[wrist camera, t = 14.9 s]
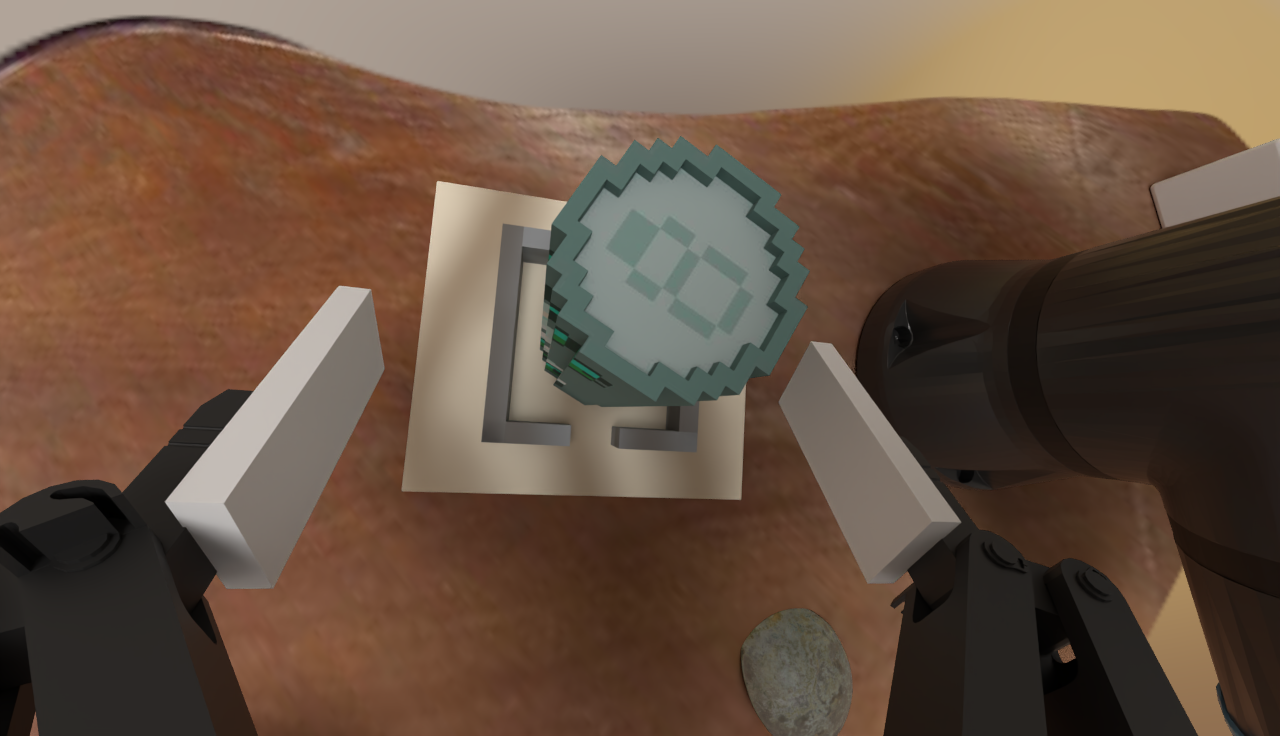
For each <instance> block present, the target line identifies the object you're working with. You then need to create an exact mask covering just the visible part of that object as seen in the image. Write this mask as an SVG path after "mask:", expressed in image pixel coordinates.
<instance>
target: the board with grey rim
mask: <svg viewBox="0 0 1280 736" xmlns="http://www.w3.org/2000/svg"><path fill="white" fill-rule="evenodd" d="M566 203H567V202H564V201H558V200H552V199H546V198H540V197H533V196H527V195H521V194H515V193H509V192H502V191H496V190H490V189H484V188H478V187H471V186H465V185H459V184H453V183H447V182H440V181H437V187H436V195H435V204H434V213H433V221H432V230H431V239H430V247H429V256H428V265H427V273H426V282H425V291H424V300H423V308H422V317H421V326H420V334H419V343H418V352H417V360H416V369H415V378H414V386H413V395H412V404H411V412H410V421H409V430H408V439H407V447H406V456H405V465H404V473H403V482H402V491H414V492H453V493H493V494H533V495H572V496H612V497H652V498H691V499H731V500H741V492H742V468H743V443H744V418H745V394H746V385H745V386H744V388H743V390H742V392H741V393H740V395H732V396H719V398H718V400H713V401H697V402H696V403H695V405H694V406H643V407H600V406H599V405H583V404H582V403H580V402H579V401H577V400H576V399H574V398H572V397H571V396H569V395H568V394H566V393H565V392H563V391H561V390H560V389H558V388H557V387H555V386H554V385H553V384H554V383H555V381H556V380H557V378H555V377H554V376H552V375H551V374H549V373H547V372H546V371H544V369H545V365H546V362H544V361H543V360H542V356H543V351H541V350H540V340H541V328H542V315H543V303H544V291H545V278H546V266H547V263H548V258H549V247H550V236H551V225H552V223H553V221H554V220H555V218H556V217H557V216H558V214H559V213H560V211H561V210H562V209H563V207H564V206H565V205H566Z"/></svg>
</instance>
